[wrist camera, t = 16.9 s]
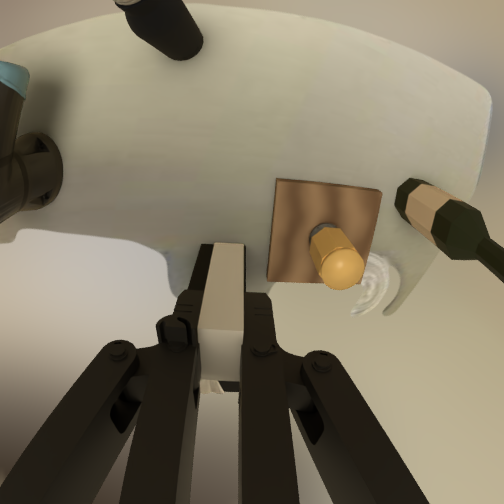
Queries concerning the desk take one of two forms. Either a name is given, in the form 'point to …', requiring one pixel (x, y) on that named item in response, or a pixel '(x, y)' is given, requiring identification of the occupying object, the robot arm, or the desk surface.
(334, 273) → the ochre cap
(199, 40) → the wine bottle
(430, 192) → the labelled green bottle
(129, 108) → the desk surface
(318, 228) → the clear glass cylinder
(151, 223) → the desk surface
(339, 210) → the walnut board
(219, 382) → the black pillar candle
